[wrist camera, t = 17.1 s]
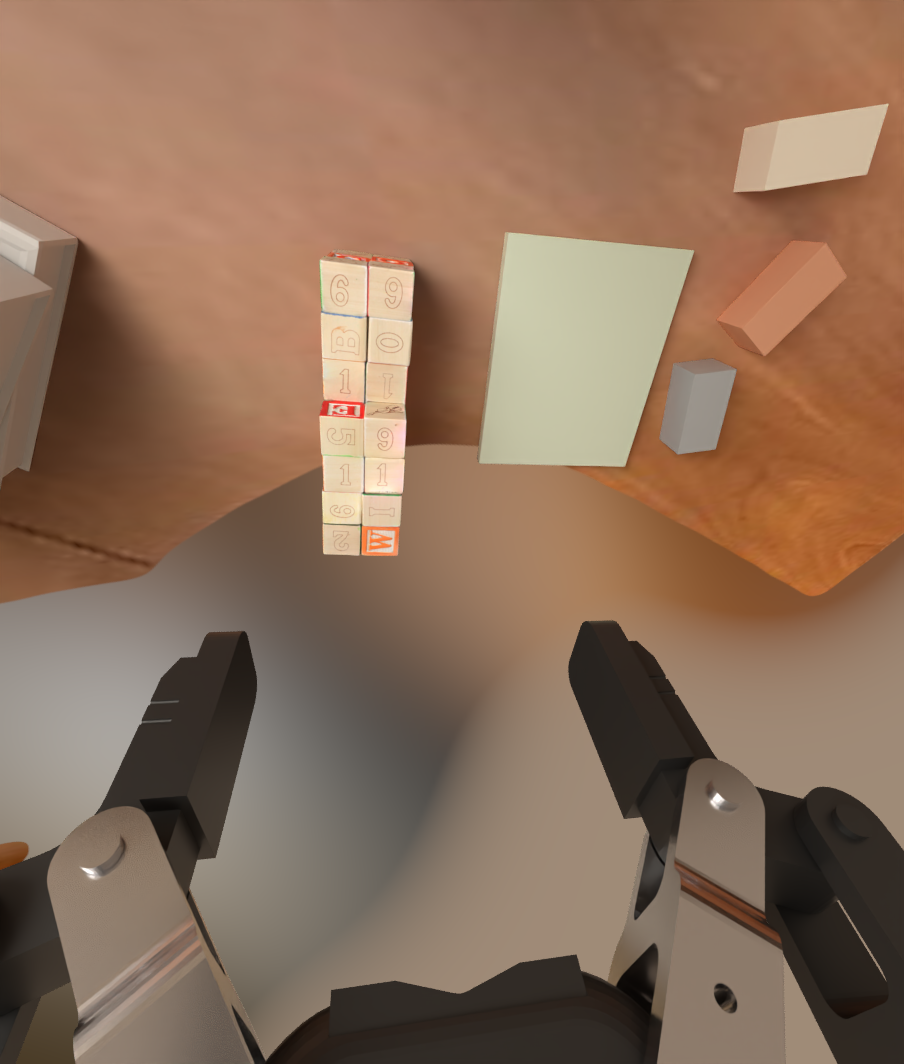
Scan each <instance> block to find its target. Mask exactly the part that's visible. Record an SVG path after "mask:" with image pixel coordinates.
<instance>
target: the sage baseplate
mask: <svg viewBox="0 0 904 1064" xmlns="http://www.w3.org/2000/svg"><path fill="white" fill-rule="evenodd" d="M693 253H694V250H687V249H677V248H666V247H656V246H646V245H635V244H625V243H615V242H604V241H594V240H584V239H574V238H563V237H553V236H543V235H532V234H522V233H512V232H505V238H504V246H503V254H502V262H501V270H500V278H499V286H498V294H497V302H496V310H495V318H494V326H493V334H492V342H491V350H490V358H489V367H488V375H487V383H486V391H485V399H484V407H483V415H482V423H481V431H480V439H479V447H478V455H477V459H478V462H479V463H480V464H524V465H525V464H526V465H572V466H621V467H625V465H626V462H627V459H628V455H629V452H630V449H631V446H632V443H633V440H634V437H635V434H636V431H637V427H638V424H639V421H640V418H641V415H642V412H643V409H644V406H645V403H646V399H647V396H648V393H649V390H650V387H651V384H652V381H653V378H654V375H655V371H656V368H657V365H658V362H659V359H660V356H661V353H662V350H663V346H664V343H665V340H666V337H667V334H668V331H669V328H670V325H671V322H672V318H673V315H674V312H675V309H676V306H677V303H678V300H679V297H680V294H681V290H682V287H683V284H684V281H685V278H686V275H687V272H688V269H689V266H690V262H691V259H692V256H693Z"/></svg>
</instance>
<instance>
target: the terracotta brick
mask: <svg viewBox="0 0 904 1064" xmlns="http://www.w3.org/2000/svg"><path fill="white" fill-rule="evenodd" d="M846 277H847V276H846V274H845V273H844V271H843V269H842V268H841V266H840V264H839V263H838V261H837V260H836V258H835V256H834V255H833V253H832V251H831V250H830V248H829V246H828V245H827V243H822V242H808V241H795V240H792V241H791V242H790V243H789V244H788V245H787V246H786V247H785V248H784V250H783V251H782V252H781V253H780V254H779V255H778V256H777V257H776V258H775V259H774V260H773V261H772V262H771V263H770V264H769V265H768V266H767V267H766V268H765V269H764V270H763V271H762V273H761V274H760V275H759V276H758V277H757V278H756V279H755V280H754V281H753V282H752V283H751V284H750V285H749V286H748V287H747V288H746V289H745V290H744V291H743V292H742V293H741V295H740V296H739V297H738V298H737V299H736V300H735V301H734V302H733V303H732V304H731V305H730V306H729V307H728V308H727V309H726V310H725V311H724V312H723V313H722V314H721V315H720V317H719V318H718V319H717V321H718V323H719V324H720V325H721V326H722V327H723V329H724V330H725V331H726V332H727V333H728V334H729V336H730V337H731V338H732V339H733V340H734V342H735V343H736V344H737V345H738V346H739V347H741V348H744V349H747V350H749V351H752V352H754V353H757V354H760V355H762V356H766V355H767V354H768V353H769V352H770V351H771V350H772V349H773V348H774V347H775V346H776V345H777V344H778V343H779V342H780V341H781V340H782V339H783V338H784V337H785V336H786V335H787V334H788V333H790V332H791V331H792V330H793V329H794V328H795V327H796V326H797V325H798V324H799V323H800V322H801V321H802V320H803V319H804V318H805V317H806V316H807V315H808V314H809V313H810V312H811V311H812V310H813V309H814V308H815V307H816V306H817V305H819V304H820V303H821V302H822V301H823V300H824V299H825V298H826V297H827V296H828V295H829V294H830V293H831V292H832V291H833V290H834V289H835V288H836V287H837V286H838V285H839V284H840V283H841V282H842V281H843V280H844V279H845V278H846Z"/></svg>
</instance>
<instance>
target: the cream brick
mask: <svg viewBox="0 0 904 1064" xmlns="http://www.w3.org/2000/svg"><path fill="white" fill-rule="evenodd" d="M888 105H889V104H883V105H876V106H870V107H864V108H857V109H851V110H844V111H838V112H831V113H825V114H819V115H812V116H806V117H799V118H793V119H786V120H780V121H775V122H771V123H766V124H761V125H757V126H752V127H748V128H745V130H744V135H743V141H742V146H741V152H740V157H739V163H738V168H737V174H736V180H735V185H734V191H733V192H749V191H766V190H773V189H779V188H785V187H791V186H798V185H804V184H810V183H816V182H823V181H829V180H835V179H841V178H848V177H854V176H860V175H867V173H868V169H869V166H870V163H871V160H872V156H873V153H874V150H875V147H876V143H877V140H878V137H879V134H880V131H881V127H882V124H883V121H884V118H885V114H886V111H887V108H888Z"/></svg>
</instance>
